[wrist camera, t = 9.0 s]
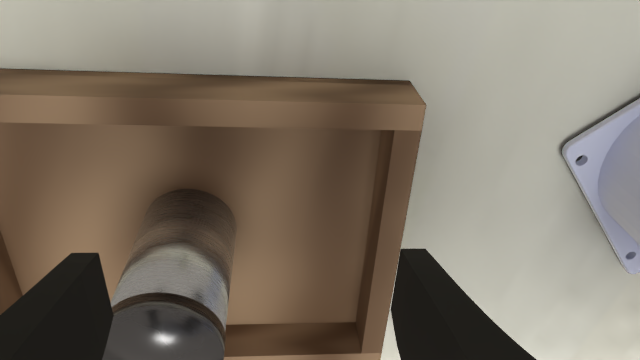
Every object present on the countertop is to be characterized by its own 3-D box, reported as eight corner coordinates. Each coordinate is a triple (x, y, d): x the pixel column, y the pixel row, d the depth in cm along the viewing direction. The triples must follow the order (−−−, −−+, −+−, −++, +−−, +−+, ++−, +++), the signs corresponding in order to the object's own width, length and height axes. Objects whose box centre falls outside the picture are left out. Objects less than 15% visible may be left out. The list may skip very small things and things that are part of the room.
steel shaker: (256, 234, 22) (249, 363, 16) (187, 275, 23) (155, 412, 17) (196, 171, 20) (162, 291, 14) (122, 219, 21) (62, 351, 15)
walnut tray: (409, 80, 19) (426, 105, 17) (370, 327, 27) (379, 366, 25) (-77, 66, 18) (-124, 91, 16) (22, 335, 25) (-2, 376, 23)
